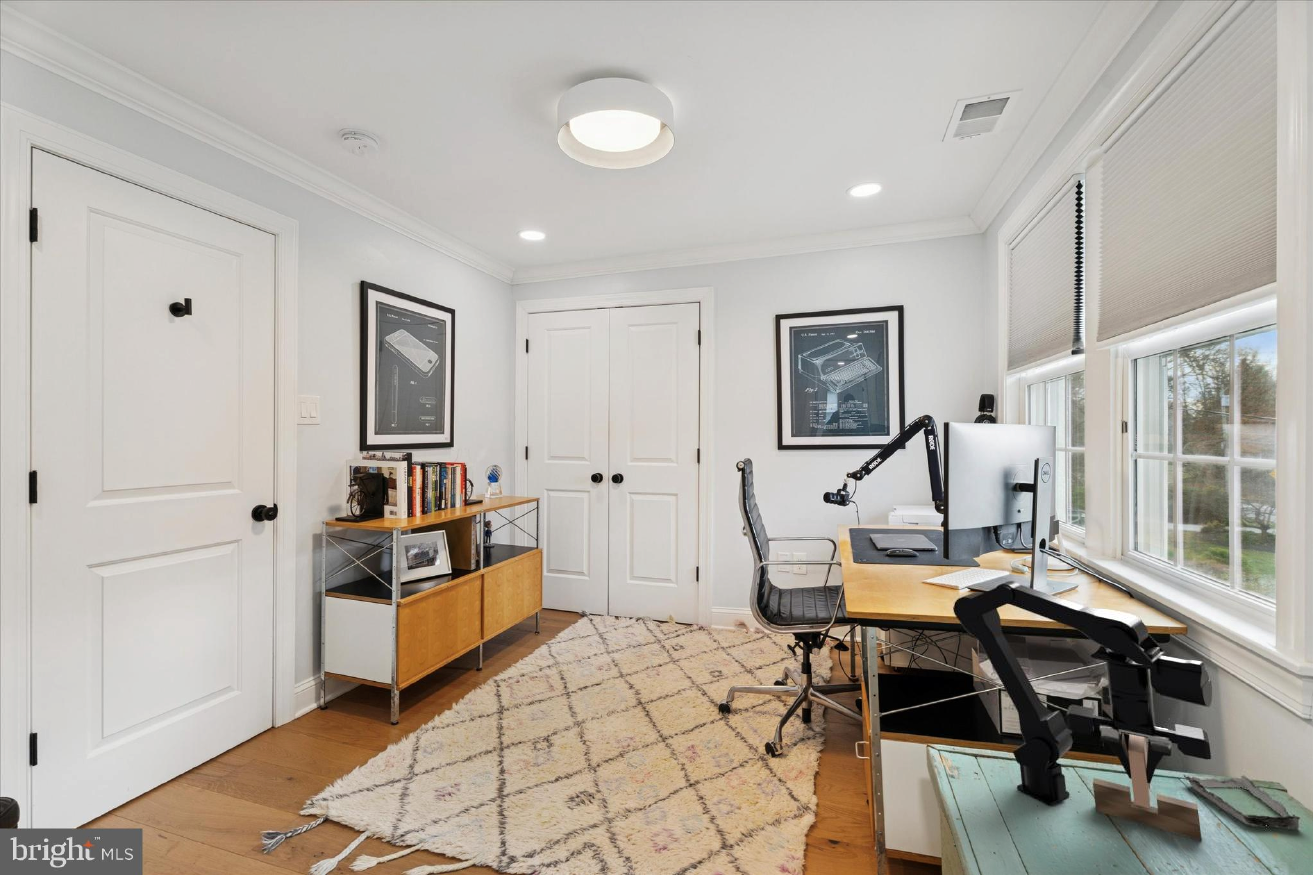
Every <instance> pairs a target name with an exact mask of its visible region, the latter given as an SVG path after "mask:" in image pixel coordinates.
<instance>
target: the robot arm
mask: <svg viewBox="0 0 1313 875" xmlns="http://www.w3.org/2000/svg"><path fill="white" fill-rule="evenodd" d="M1006 605H1011V606H1013V607H1016V608H1018V609H1019V608H1020V609H1022V610H1024V611H1027V612H1029V613H1033V614H1034V615H1035V614H1036V615H1038V616H1040V617H1042V618H1046V619H1048V620H1050V621H1054V622H1057V623H1060V624H1062V625H1065V626H1068V627H1069V628H1072V629H1075V630H1077V631H1078V632H1081V633H1082V634H1084V635H1085V636H1086V637H1087V638H1089V640H1091V641H1093V642H1095V643H1096V644H1098V645H1100V646H1099V647H1098V649H1097V650H1095V651H1094V652H1092V653H1091V654H1090V658H1092V659H1094V660H1099V661H1105V666H1106V675H1107V684H1108V686H1101V689H1102V692H1101V693H1102V703H1103V705H1105V706H1110V711H1111V718H1109V717H1103V716H1099V715H1097V714H1096V713H1097V712H1096V709H1095V708H1093V707H1088V706H1083V705H1077V704H1071V705H1069V706H1068V708H1067V711H1066V714H1065V715H1066V718H1065V719H1066V720H1065V719H1064V717H1063V714H1062V713H1061V711H1060V710H1056V711H1051V710H1050V709H1049V708H1048V707H1046V706H1045V705H1044V703H1043V702H1042V700H1041V699H1040V697H1039V695H1038V693H1037V692H1036V690H1035V689H1034V687H1033V685H1032V683H1031V681H1030V680H1029V677H1028V676H1027V674H1026V672H1025V671H1024V669H1023V668H1022V665H1021V664H1020V662H1019V661H1018V659H1017V657H1016V655H1015V653H1014V652H1013V650H1012V648H1011V646H1010V644H1009V643H1008V640H1007V639H1006V637H1005V636H1004V634H1003V630H1002V624H1001V616H1000V614H999V611H998V608H1001V607H1003V606H1006ZM952 608H953V614H954V616H955V617H956V619H957V620H958V621H959V622H960V624H961V626H962V627H963V628H964V630H965V631H966V632H967V633H969V634H971V636H973V637H974V638H975V639H976V640H977V641H978V643H980V646H981V647H982V649H983V651H984V653H985V655H986V656H987V659H988V661H989V662H990V664H991V666H992V668H993V669H994V671H995V673H996V675H997V676H998V678H999V681H1000V682H1001V684H1002V686H1003V688H1004V689H1005V691H1006V693H1007V695H1008V697H1009V698H1010V700H1011V702H1012V704H1013V706H1014V707H1015V709H1016V711H1017V715H1018V724H1019V731H1020V733H1021V735H1022V739H1023V741H1024V742H1023V743H1022V744H1021V745H1020V746H1018V747H1017V748H1016V749H1015V750H1013V751H1012V753H1013V756H1014V758H1015V761H1016V763H1017V764H1019V769H1020V770H1019V771H1020V779H1021V783H1020V784H1018V785H1016V789H1017V790H1018V791H1020V792H1022V793H1024V794H1026V795H1028V796H1030V797H1032V798H1034V799H1036V800H1038V801H1040V802H1042V803H1044V804H1046V805H1048V806H1053V805H1055V804H1057V803H1059V802H1061V801H1062V800H1065V799H1066V798H1067V797H1069V796H1070V795H1071V794H1070V792H1069V791H1068V790H1067V785H1066V776H1065V774H1063V771H1062V770H1063V768H1062V764H1060V763H1058V762H1057V761H1058V760H1059V759H1060V758H1062V757H1063V756H1064V755H1065V754H1066V753H1067V752H1068V751H1069V750H1071V748H1072V745H1073V742H1074V741H1073V738H1072V735H1071V734H1072V733H1073V732H1075V733H1081V734H1086V735H1089V734H1092V733H1093V732H1094V730H1095V729H1094V728H1097V729H1099V731H1100V741H1101V742H1103V743H1106V744H1108V746H1110V748H1111V750H1112V751H1113V753H1114V754H1115V756H1116V757H1117V759H1118V760H1119V761H1120V764H1121V766H1122V767H1123V769H1124V771H1125V774H1127V776H1128V779H1130V780H1132V779H1131V770H1130V761H1129V752H1128V748H1127V744H1126V739H1125V735H1126V734H1127V735H1130V734H1131V735H1136V736H1141V737H1145V739H1146V738H1147V766H1146V776H1147V783H1150V784H1151V782H1152V780H1153V777H1154V775H1155V772H1156V769H1157V767H1158V765H1159V763H1160V761H1161V760H1162V759H1163V757H1165V756H1166V757H1172V755H1173V754H1172V746H1173V745H1172V744H1175V745H1176V746H1177V749H1178V750H1179V751H1180V752H1181V753H1182V754H1183V756H1184V755H1185V756H1188V757H1193V758H1197V759H1202V760H1212V755H1211V745H1210V740H1209V735H1208V733H1207V732H1206V731H1205V730H1204V729H1203V728H1199V727H1192V726H1189V725H1183V724H1178V723H1175V724H1174V727H1175V730H1173V729H1168V728H1163V727H1158V726H1156V715H1155V707H1154V705H1153V697H1152V689H1154V692H1155V693H1156V694H1159V695H1160V696H1161V697H1162V698H1165V699H1170V700H1174V701H1179V702H1184V703H1188V704H1191V705H1192V704H1193V705H1196V706H1199V707H1200V706H1201V707H1205V708H1210V706H1211V705H1212V704H1211V703H1212V700H1213V685H1212V684H1213V683H1212V679H1210V677H1209V673H1208V671H1207V670H1206V667H1205V663H1204V662H1203V661H1201V660H1200V661H1199V660H1195V659H1182V658H1177V657H1172V656H1166V655H1167V651H1166V650H1164V649H1163V647H1162V646H1161V645H1160V644H1159V643H1158V642H1157V641H1156V640H1155V639H1154V638H1153V636H1151V634H1150V633H1149V631H1148V628H1147V626H1146V625H1145V623H1144V622H1143V620H1142V619H1141V618H1140V617H1138V616H1136V615H1135V614H1132V613H1127V612H1123V611H1122V612H1121V611H1117V610H1114V609H1113V610H1111V609H1108V608H1107V609H1105V608H1096V607H1095V608H1094V607H1089V606H1085V605H1081V604H1078V603H1075V602H1073V601H1071V600H1070V601H1069V600H1066V599H1063V598H1061V597H1057V596H1055V595H1052V594H1048V593H1046V592H1042V591H1040V590H1037V589H1034V588H1030V587H1028V586H1025V585H1022V584H1020V583H1018V582H1017V581H1014V580H1008V581H1005V582H1002V583H1000V584H998V585H996V587H995V588H991V589H990V590H988V591H985V592H980V591H976V592H971V593H969V594H967V595H966V594H965V595H964V596H961V597H959V598H957V599H956V600H955V602H954V604H953V607H952ZM1151 687H1152V689H1151ZM1124 734H1125V735H1124Z"/></svg>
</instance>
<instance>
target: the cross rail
mask: <svg viewBox="0 0 1313 875" xmlns="http://www.w3.org/2000/svg"><path fill="white" fill-rule="evenodd" d="M1092 787H1093V788H1092V789H1093V795H1094V803H1095V804H1094V806H1095V812H1099V813H1103V814H1106V815H1109V816H1114V817H1117V818H1120V819H1123V820H1127V821H1132V822H1134V823H1138V824H1143V825H1145V826H1148V827H1152V828H1155V829H1156V828H1157V829H1160V830H1161V831H1162V830H1163V831H1167V832H1170V833H1174V834H1177V835H1180V836H1184V837H1187V838H1191V839H1194V840H1197V841H1201V842H1202V839H1203V838H1202V831H1201V822H1200V816H1199V807H1198V806H1199V805H1198V803H1196V802H1191V801H1187V800H1183V799H1179V798H1176V797H1175V798H1174V797H1172V796H1168V795H1164V794H1159V793H1156V795H1155V796H1156V805H1157V807H1155V806H1151V805H1150V808H1146V807H1143V806H1139V805H1135V804H1134V800H1132V794H1131V787H1130V786H1126V785H1123V784H1119V783H1116V782H1111V781H1107V780H1104V779H1101V778H1096V777H1093V780H1092Z"/></svg>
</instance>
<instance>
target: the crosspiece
mask: <svg viewBox="0 0 1313 875" xmlns="http://www.w3.org/2000/svg"><path fill="white" fill-rule="evenodd" d="M1128 735H1129V737H1128V738H1129V739H1128V748H1127V751H1128V755H1129V761H1130V770H1131V779H1130V780H1131V786H1132V796H1133V802H1134V804H1135V805H1139V806H1143V807H1146V808H1150V806H1151V795H1150V789H1151V783H1147V776H1146V766H1147V750H1148V748H1147V743H1146V737H1141V736H1136V735H1131V734H1128Z"/></svg>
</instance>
